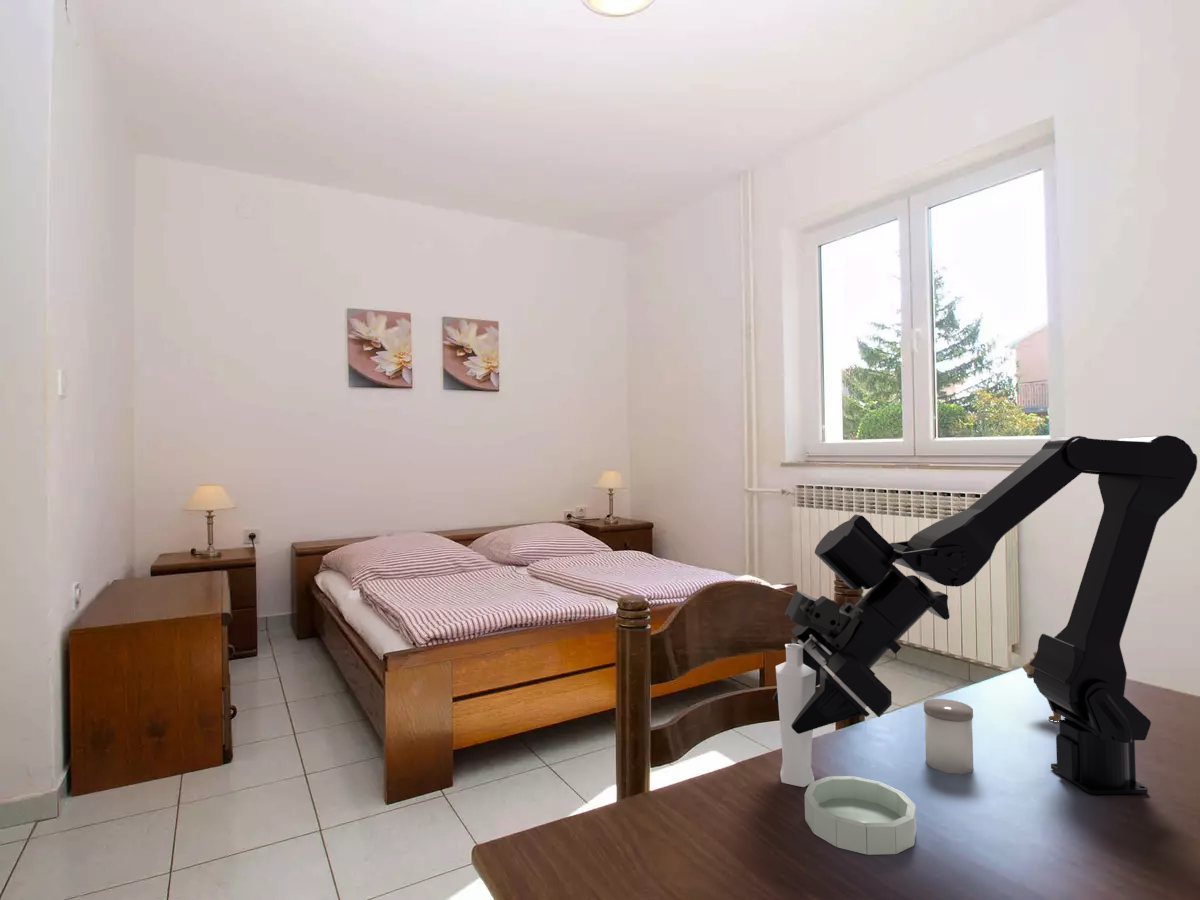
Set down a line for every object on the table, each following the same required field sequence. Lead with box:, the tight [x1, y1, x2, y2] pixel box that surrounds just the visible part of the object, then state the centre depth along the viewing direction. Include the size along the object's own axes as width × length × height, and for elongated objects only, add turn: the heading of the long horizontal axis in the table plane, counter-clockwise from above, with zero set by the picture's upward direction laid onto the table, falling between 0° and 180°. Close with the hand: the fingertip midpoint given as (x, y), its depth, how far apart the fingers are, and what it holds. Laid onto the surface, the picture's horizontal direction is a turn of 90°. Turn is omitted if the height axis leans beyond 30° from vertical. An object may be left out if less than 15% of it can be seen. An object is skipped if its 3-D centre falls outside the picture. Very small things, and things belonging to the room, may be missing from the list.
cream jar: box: [923, 698, 974, 775], centre depth 80 cm, size 5×5×7 cm
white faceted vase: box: [775, 643, 816, 788], centre depth 76 cm, size 5×4×15 cm
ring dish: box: [804, 775, 917, 856], centre depth 66 cm, size 10×10×2 cm
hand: (784, 715), depth 77 cm, fingers open, 8 cm apart
